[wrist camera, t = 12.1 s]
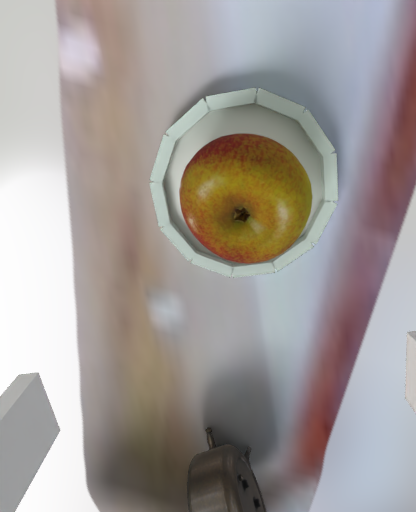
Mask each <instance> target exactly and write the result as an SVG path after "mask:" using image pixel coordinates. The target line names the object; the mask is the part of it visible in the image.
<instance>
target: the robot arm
mask: <svg viewBox="0 0 416 512" xmlns="http://www.w3.org/2000/svg"><path fill="white" fill-rule="evenodd" d="M405 386H406V387H405V399H406V400H407V402H408V403H409V405H410V406H411V407H412V409H413V410H414V412H415V413H416V331H412V332H407V352H406V384H405ZM59 432H60V428H59V426H58V423H57V421H56V418H55V415H54V412H53V410H52V407H51V405H50V402H49V399H48V397H47V394H46V391H45V389H44V386H43V384H42V381H41V378H40V376H39V373H30V374H21V375H18V376H17V378H16V379H15V380H14V381H13V382H12V383H11V385H10V386H9V387H8V388H7V390H5V392H4V393H3V394H2V395H1V396H0V512H15V511H16V509H17V507H18V505H19V503H20V502H21V500H22V498H23V496H24V494H25V492H26V491H27V489H28V487H29V485H30V484H31V482H32V480H33V478H34V476H35V475H36V473H37V471H38V469H39V467H40V465H41V464H42V462H43V460H44V458H45V457H46V455H47V453H48V451H49V450H50V448H51V446H52V444H53V442H54V441H55V439H56V437H57V435H58V433H59Z"/></svg>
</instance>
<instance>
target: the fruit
mask: <svg viewBox="0 0 416 512" xmlns="http://www.w3.org/2000/svg"><path fill="white" fill-rule="evenodd" d="M179 196H180V206H181V212H182V214H183V217H184V220H185V222H186V224H187V226H188V228H189V229H190V231H191V232H192V234H193V235H194V236H195V238H196V239H197V240H198V241H199V242H200V243H201V244H202V245H203V246H205V247H206V248H207V249H208V250H210V251H211V252H212V253H214V254H216V255H217V256H219V257H221V258H223V259H226V260H229V261H233V262H237V263H245V264H251V263H260V262H264V261H268V260H270V259H273V258H275V257H277V256H279V255H280V254H282V253H284V252H285V251H286V250H287V249H289V248H290V247H291V246H292V245H293V243H294V242H295V241H296V240H297V239H298V238H299V236H300V234H301V233H302V231H303V229H304V228H305V226H306V223H307V221H308V218H309V216H310V213H311V207H312V188H311V182H310V180H309V177H308V175H307V173H306V171H305V169H304V167H303V166H302V164H301V163H300V162H299V160H298V159H297V158H296V156H295V155H294V154H293V153H292V152H291V151H290V150H288V149H287V148H286V147H285V146H283V145H282V144H280V143H278V142H277V141H275V140H273V139H270V138H268V137H264V136H260V135H256V134H248V133H238V134H231V135H226V136H221V137H219V138H217V139H215V140H213V141H211V142H209V143H208V144H206V145H204V146H203V147H202V148H201V149H200V150H199V151H198V152H197V153H196V154H195V155H194V156H193V158H192V159H191V160H190V162H189V163H188V164H187V166H186V168H185V170H184V173H183V175H182V178H181V182H180V189H179Z"/></svg>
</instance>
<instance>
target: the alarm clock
mask: <svg viewBox="0 0 416 512" xmlns="http://www.w3.org/2000/svg"><path fill="white" fill-rule="evenodd" d="M206 432H207V440H208V444H209V451H206V452H203V453H200V454H197V455H196V456H194V458H193V459H192V462H191V464H190V467H189V472H188V482H187V495H188V506H189V512H266V509H265V505H264V502H263V498H262V495H261V492H260V489H259V486H258V483H257V481H256V478H255V476H254V473H253V471H252V469H251V466H250V463H249V455H250V452H251V447H250V446H249V447H248V448H247V451H246V453H245V455H243V454H242V452H241V451H240V450H239V449H238V448H236V447H235V446H233V445H230V444H226V445H223V446H220V447H217V448H216V446H215V442H214V439H213V437H212V435H211V432H212V430H211V428H207V429H206Z"/></svg>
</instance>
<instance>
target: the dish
mask: <svg viewBox="0 0 416 512" xmlns="http://www.w3.org/2000/svg"><path fill="white" fill-rule="evenodd" d="M304 110H305V107H304V106H302V105H299V104H297V103H295V102H292V101H290V100H287V99H285V98H283V97H280V96H278V95H275V94H273V93H271V92H268V91H266V90H264V89H261V88H259V89H258V91H256V87H255V88H249V89H244V90H239V91H233V92H228V93H222V94H217V95H211V96H206V100H205V101H204V99H203V98H202V99H201V100H200V101H199V102H198V103H197V104H195V105H194V106H193V107H192V108H191V109H190V110H189V111H188V112H187V113H186V114H184V115H183V116H182V117H181V118H180V119H179V120H178V121H177V122H176V123H175V124H173V125H172V126H171V127H170V128H169V129H168V130H167V131H166V133H167V134H168V135H166V134H164V135H163V138H162V142H161V145H160V148H159V151H158V154H157V158H156V161H155V164H154V167H153V170H152V174H151V177H150V180H151V181H152V182H150V183H149V184H150V188H151V193H152V198H153V202H154V207H155V211H156V216H157V220H158V225H159V227H161V226H162V228H161V229H160V230H161V231H162V232H163V233H164V234H165V235H166V237H167V238H168V239H169V240H170V241H171V242H172V243H173V245H174V246H175V247H176V248H177V249H178V250H179V251H180V253H181V254H182V255H183V256H184V257H185V258H186V259H187V260H188V261H190V260H191V259H192V261H191V263H192V264H195V265H197V266H200V267H203V268H205V269H208V270H211V271H213V272H216V273H219V274H221V275H224V276H227V277H231V274H232V275H233V278H237V277H245V276H253V275H261V274H268V273H275V269H276V270H277V271H279V270H281V269H282V268H284V267H285V266H287V265H288V264H290V263H291V262H293V261H294V260H296V259H297V258H298V257H300V256H301V255H303V254H304V253H306V252H307V251H309V250H310V249H312V248H313V247H314V246H313V245H312V243H314V244H317V242H318V240H319V238H320V236H321V234H322V232H323V230H324V229H325V227H326V225H327V223H328V221H329V219H330V217H331V215H332V213H333V211H334V209H335V208H336V206H337V203H335V202H334V201H338V181H337V153H333V152H334V151H335V148H334V147H333V145H332V144H331V143H330V141H329V140H328V138H327V137H326V135H325V134H324V132H323V131H322V129H321V128H320V126H319V125H318V123H317V122H316V120H315V119H314V117H313V116H312V114H311V113H310V111H309V110H305V111H304ZM238 133H248V134H256V135H260V136H264V137H268V138H270V139H273V140H275V141H277V142H278V143H280V144H282V145H283V146H285V147H286V148H287V149H288V150H290V151H291V152H292V153H293V154H294V155H295V156H296V158H297V159H298V160H299V162H300V163H301V164H302V166H303V167H304V169H305V171H306V173H307V175H308V177H309V180H310V182H311V188H312V207H311V213H310V216H309V218H308V221H307V223H306V226H305V228H304V229H303V231H302V233H301V234H300V236H299V238H298V239H297V240H296V241H295V242H294V243H293V245H292V246H291V247H290V248H289V249H287V250H286V251H285V252H284V253H282V254H280V255H279V256H277V257H275V258H273V259H270V260H268V261H264V262H260V263H251V264H245V263H237V262H233V261H229V260H226V259H223V258H221V257H219V256H217V255H216V254H214V253H212V252H211V251H210V250H208V249H207V248H206V247H205V246H203V245H202V244H201V243H200V242H199V241H198V240H197V239H196V238H195V236H194V235H193V234H192V232H191V231H190V229H189V228H188V226H187V224H186V222H185V220H184V217H183V214H182V212H181V206H180V196H179V189H180V182H181V178H182V175H183V173H184V170H185V168H186V166H187V164H188V163H189V162H190V160H191V159H192V158H193V156H194V155H195V154H196V153H197V152H198V151H199V150H200V149H201V148H202V147H203V146H204V145H206V144H208V143H209V142H211V141H213V140H215V139H217V138H219V137H221V136H226V135H231V134H238Z"/></svg>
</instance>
